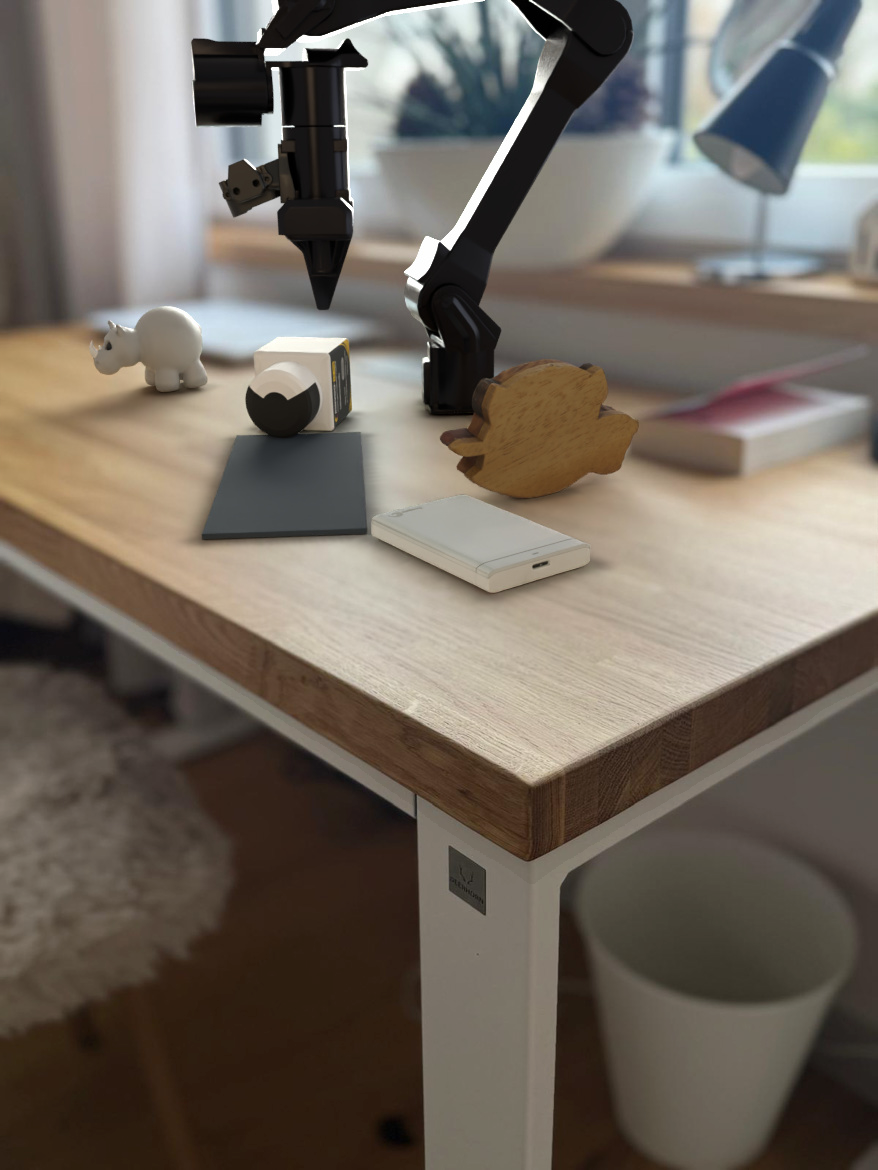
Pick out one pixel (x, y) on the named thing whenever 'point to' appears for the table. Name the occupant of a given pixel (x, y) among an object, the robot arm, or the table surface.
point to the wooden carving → (541, 429)
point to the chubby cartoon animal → (156, 349)
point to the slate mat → (290, 487)
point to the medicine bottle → (300, 385)
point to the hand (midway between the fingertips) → (323, 309)
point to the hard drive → (480, 542)
